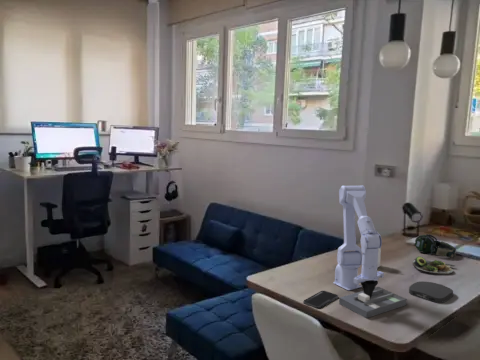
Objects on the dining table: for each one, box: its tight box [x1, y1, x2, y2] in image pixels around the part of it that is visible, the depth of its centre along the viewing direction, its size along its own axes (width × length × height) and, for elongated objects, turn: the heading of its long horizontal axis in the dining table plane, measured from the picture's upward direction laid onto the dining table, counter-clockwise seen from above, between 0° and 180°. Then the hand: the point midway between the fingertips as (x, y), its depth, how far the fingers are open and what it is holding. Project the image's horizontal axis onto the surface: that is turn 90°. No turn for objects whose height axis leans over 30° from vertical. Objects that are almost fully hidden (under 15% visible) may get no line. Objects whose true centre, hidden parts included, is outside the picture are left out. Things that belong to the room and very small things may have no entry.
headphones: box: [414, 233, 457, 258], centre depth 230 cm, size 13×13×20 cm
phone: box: [302, 290, 339, 310], centre depth 171 cm, size 8×1×15 cm
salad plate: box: [412, 255, 456, 275], centre depth 207 cm, size 19×18×5 cm
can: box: [377, 247, 382, 269], centre depth 209 cm, size 7×7×12 cm
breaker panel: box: [338, 286, 407, 319], centre depth 167 cm, size 14×22×4 cm, turn 121°
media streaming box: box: [408, 281, 454, 304], centre depth 178 cm, size 15×15×3 cm
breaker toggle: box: [358, 293, 370, 302], centre depth 164 cm, size 4×2×2 cm, turn 31°
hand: (367, 297), depth 165 cm, fingers closed
